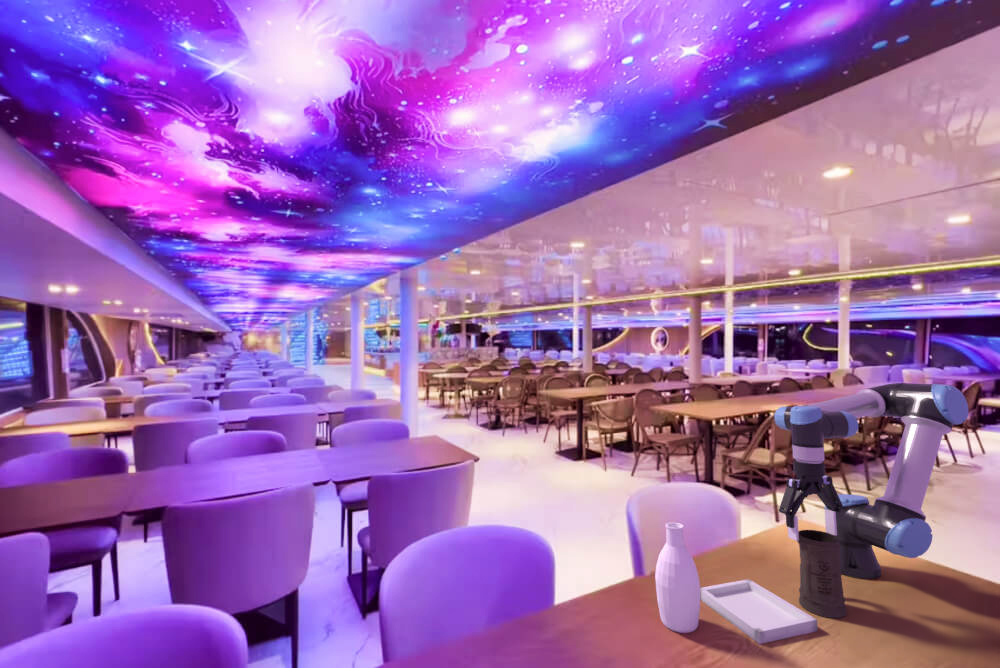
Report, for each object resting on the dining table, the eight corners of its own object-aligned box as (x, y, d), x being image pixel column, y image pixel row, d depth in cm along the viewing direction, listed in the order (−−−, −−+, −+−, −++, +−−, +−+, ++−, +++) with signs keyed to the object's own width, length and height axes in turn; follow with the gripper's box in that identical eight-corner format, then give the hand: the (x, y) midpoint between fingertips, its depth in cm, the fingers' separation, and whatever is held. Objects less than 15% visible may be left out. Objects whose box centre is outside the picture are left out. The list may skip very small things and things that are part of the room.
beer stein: (857, 621, 117) (849, 541, 119) (811, 618, 119) (804, 539, 121) (827, 595, 132) (820, 524, 134) (786, 592, 134) (780, 522, 136)
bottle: (681, 641, 111) (676, 536, 112) (647, 618, 120) (643, 522, 122) (711, 627, 116) (706, 527, 117) (676, 607, 126) (672, 515, 127)
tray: (749, 588, 135) (748, 579, 135) (817, 630, 113) (816, 619, 113) (698, 598, 130) (697, 588, 130) (759, 644, 109) (758, 632, 109)
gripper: (829, 455, 135) (834, 526, 134) (762, 460, 129) (765, 536, 127) (855, 460, 128) (859, 536, 126) (784, 466, 122) (788, 546, 120)
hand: (812, 536), depth 127 cm, fingers open, 13 cm apart
